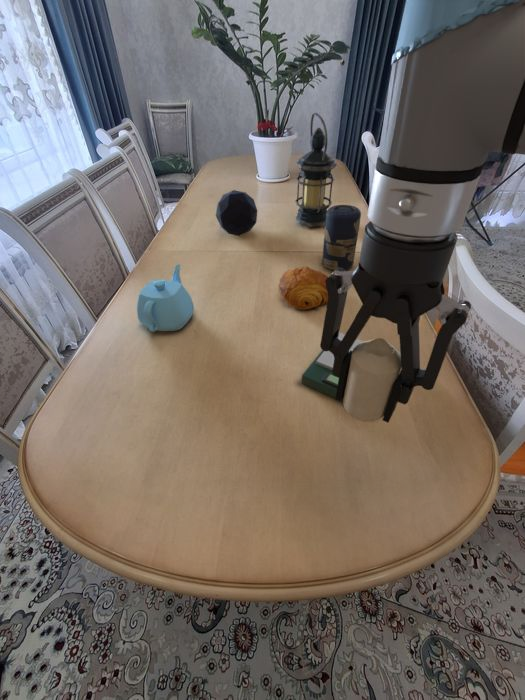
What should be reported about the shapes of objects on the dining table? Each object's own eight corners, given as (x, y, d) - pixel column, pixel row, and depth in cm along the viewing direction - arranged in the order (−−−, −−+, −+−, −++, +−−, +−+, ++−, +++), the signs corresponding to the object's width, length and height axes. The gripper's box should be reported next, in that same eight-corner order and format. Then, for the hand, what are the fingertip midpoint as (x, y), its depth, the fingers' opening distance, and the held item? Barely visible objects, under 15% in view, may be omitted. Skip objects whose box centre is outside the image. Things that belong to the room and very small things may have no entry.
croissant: (279, 317, 91) (279, 294, 85) (278, 280, 101) (277, 256, 95) (335, 316, 90) (339, 292, 84) (328, 278, 100) (331, 254, 94)
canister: (345, 276, 102) (355, 214, 90) (316, 268, 106) (321, 208, 94) (357, 262, 108) (367, 202, 96) (328, 255, 112) (335, 197, 100)
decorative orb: (211, 210, 130) (211, 183, 115) (250, 206, 132) (255, 178, 118) (219, 245, 127) (220, 221, 112) (259, 239, 130) (265, 216, 115)
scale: (396, 363, 74) (399, 351, 72) (368, 413, 64) (371, 402, 62) (335, 340, 80) (337, 329, 78) (301, 383, 70) (302, 372, 68)
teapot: (201, 264, 86) (168, 304, 73) (206, 301, 94) (177, 343, 81) (155, 259, 89) (116, 297, 76) (164, 295, 96) (129, 335, 83)
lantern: (335, 229, 128) (349, 114, 104) (300, 233, 125) (307, 117, 102) (321, 215, 138) (331, 108, 115) (289, 218, 136) (293, 110, 113)
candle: (346, 385, 48) (358, 326, 41) (388, 395, 46) (407, 336, 39) (338, 415, 44) (350, 356, 37) (384, 427, 42) (404, 368, 36)
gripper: (293, 219, 31) (287, 393, 46) (537, 271, 23) (433, 460, 38) (329, 195, 36) (313, 360, 51) (543, 232, 28) (448, 414, 43)
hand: (364, 403), depth 45 cm, fingers closed on candle, 5 cm apart
